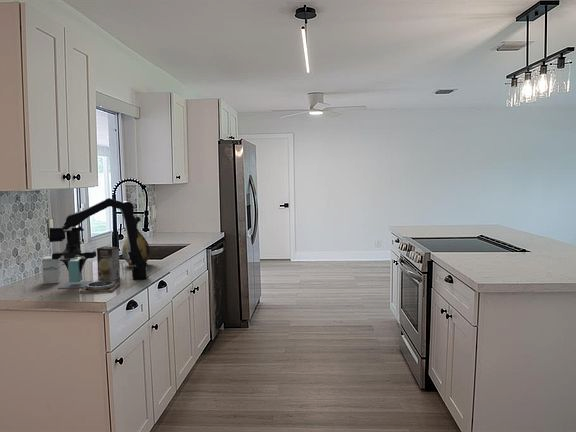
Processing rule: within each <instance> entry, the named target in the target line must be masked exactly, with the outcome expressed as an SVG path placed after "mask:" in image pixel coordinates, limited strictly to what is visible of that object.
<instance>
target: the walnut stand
mask: <svg viewBox="0 0 576 432" xmlns="http://www.w3.org/2000/svg"><path fill="white" fill-rule="evenodd" d="M120 285H121V283H120V282H115V286H114V287H113V288H111V289H108V290H86V287H85V288H81V290H80V291H79V294H99V293H98V292H108V293H113V292H114V291H116V289H118V287H119V286H120Z"/></svg>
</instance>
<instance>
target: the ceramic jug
mask: <svg viewBox="0 0 576 432" xmlns="http://www.w3.org/2000/svg"><path fill="white" fill-rule="evenodd" d="M141 220H142V219H141V217H140V216H136V217H135V215H133V223H134V228H135V234H136V240H137V245H138V248H139V250H140V252H141V255H142V258H143V260H144V261H145V262H146V263H148V262H147V261H148V260H149V259H150V256H151V248H150V245H149V242H148V241H147V240H146V238H145V237H144V236H143V234H142V233H141V232H140V231H139V229H138V224H139V223H140V222H141ZM126 251H129V242H128V236H127V237H126V238H125V240H124V243H123V245H122V251H121V254H122V258H123V260H124V261H125V262H126V263H127V264H128V266H129V267H131V268H133V267H134V266H135V265H134V264H133V263H132V262H131V261H130V260H129V259H128V258H127V257H128V255H127V252H126Z"/></svg>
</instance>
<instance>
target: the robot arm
mask: <svg viewBox="0 0 576 432" xmlns="http://www.w3.org/2000/svg"><path fill="white" fill-rule="evenodd" d="M109 207H111V208H115V209H118V210H120V213H121V215H122V217H123V220H124V224H125V230H126V235H127V237H128V242H129V251H126V252H127V255H128V257H127V258H128V259H129V260H130V261H131V262H132V263H133V264H134V265H135V266H134V267H132V270H131V275H132V276H131V277H132V280H147V278H148V277H149V276H148V262H145V261H144V260H143V258H142V255H141V252H140V250H139V248H138V245H137V240H136V234H135V228H134V223H133V216H134V204H133V203H132V202H130V201H127V200H124V201H119V200H115V199H112V198H111V197H107V198H105V199H103V200H101V201H100V202H97V203H95V204H94V205H92V206H89V207H87V208H86V209H83V210H81V211H77V212H73V213H69V214H68V215H67V216H66V218H65V222H64V223H63V224H62V225H61V226H60V227H49V228H48V232H49V233H48V237H49V239H48V240H49V243H57V242H63V241H64V240H66V244H65V249H63V251H55V252H53V253H52V254H51V256H52V259H59V258H60V261H61V262H63V263H64V264H63V265H65V267H66V269H67V270H68V261H70V260H74V259H75V258H79V259H78V260H79V261H80V273H81V272H82V273H83V269H84V266H85V263H86V261H87V260H89V259H94V258H97V251H96V250H86V251H85V252H82V248H81V247H82V246H81V244H82V241H81V233H80V232H83V231H85V229H84V228H83V227H82V226H81V225H80V224H81V223H82V222H84V221H85V220H86V219H88V218H89V217H91V216H93V215H96V214H98V213H99V212H101V211H103V210H106V209H107V208H109Z"/></svg>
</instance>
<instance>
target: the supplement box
mask: <svg viewBox="0 0 576 432" xmlns="http://www.w3.org/2000/svg"><path fill="white" fill-rule="evenodd" d="M41 264H42V265H41V266H42V267H41V268H42V284H43V285H45V284H59V283H61V281H62V280H63V279H62V261H60V258H59V259H52V255H47V256H44V257H42V258H41Z"/></svg>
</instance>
